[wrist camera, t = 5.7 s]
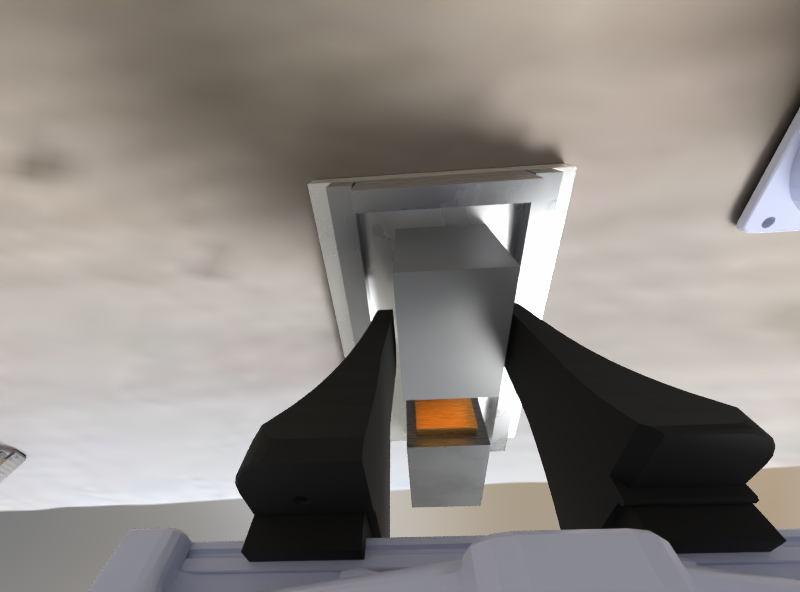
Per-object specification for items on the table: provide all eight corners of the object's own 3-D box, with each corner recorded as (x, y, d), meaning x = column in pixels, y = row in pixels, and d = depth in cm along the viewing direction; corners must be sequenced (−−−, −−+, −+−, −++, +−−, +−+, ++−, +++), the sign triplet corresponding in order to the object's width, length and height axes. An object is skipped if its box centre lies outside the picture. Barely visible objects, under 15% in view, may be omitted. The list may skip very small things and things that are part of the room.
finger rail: (565, 163, 13) (663, 188, 8) (509, 424, 22) (539, 508, 17) (313, 180, 13) (263, 213, 8) (364, 429, 22) (354, 512, 17)
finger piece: (485, 223, 13) (520, 266, 9) (475, 337, 16) (497, 404, 12) (395, 228, 13) (392, 273, 9) (403, 340, 16) (403, 408, 13)
